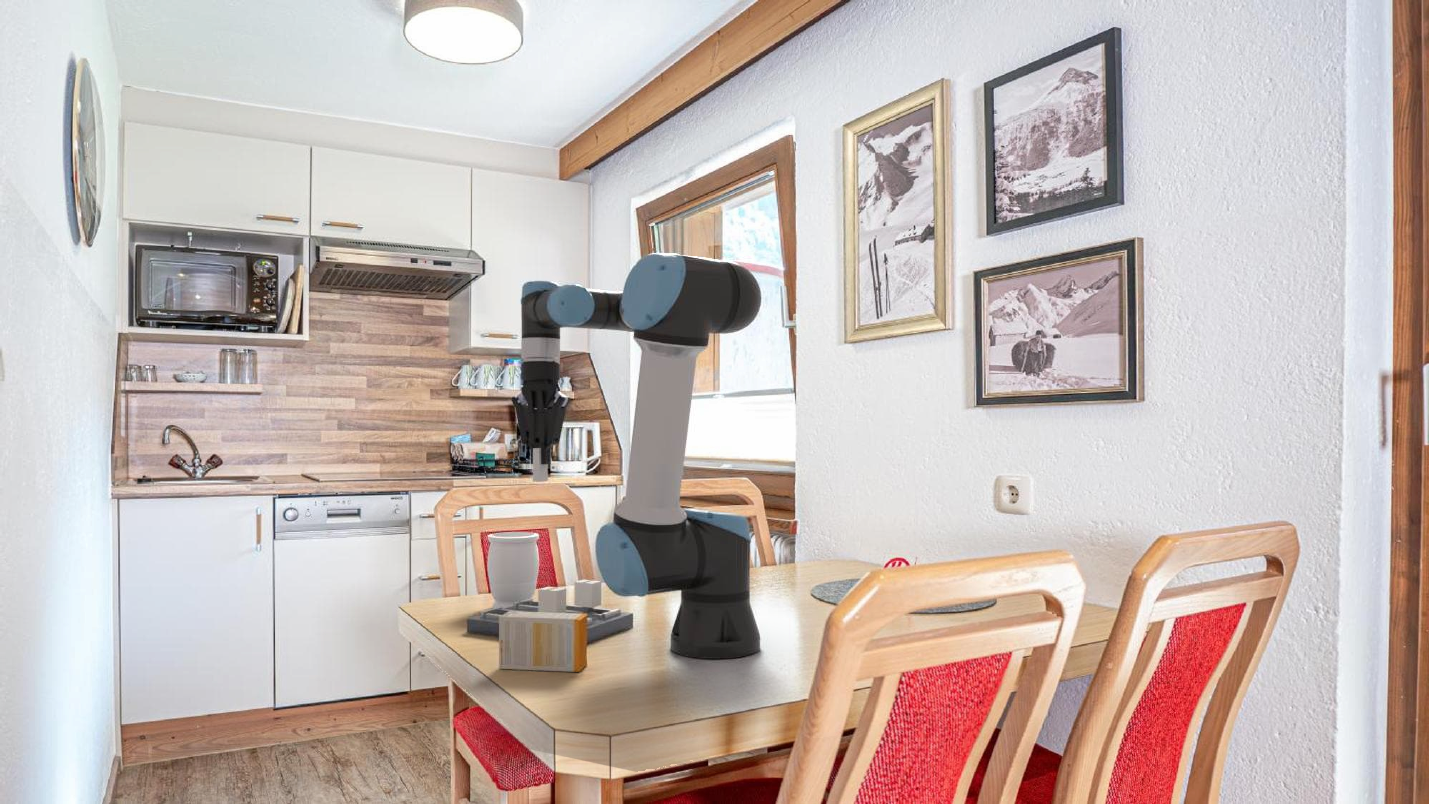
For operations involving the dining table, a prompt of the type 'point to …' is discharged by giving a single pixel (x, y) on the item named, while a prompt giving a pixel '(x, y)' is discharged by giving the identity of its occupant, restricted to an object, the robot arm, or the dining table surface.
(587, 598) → the fader
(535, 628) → the supplement box
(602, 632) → the dark grey slotted tray
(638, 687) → the dining table surface
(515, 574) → the jar
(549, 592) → the fader
